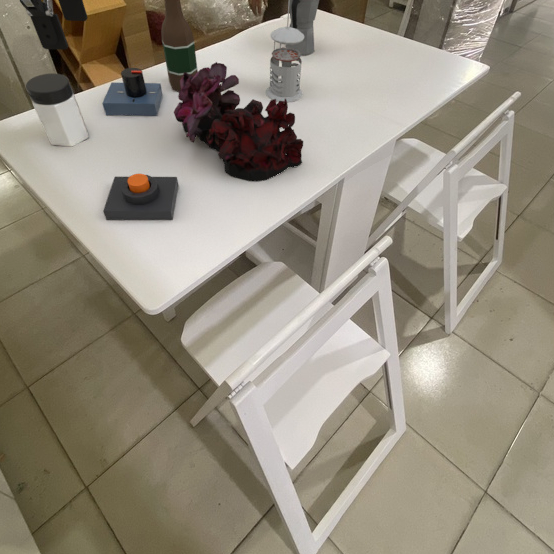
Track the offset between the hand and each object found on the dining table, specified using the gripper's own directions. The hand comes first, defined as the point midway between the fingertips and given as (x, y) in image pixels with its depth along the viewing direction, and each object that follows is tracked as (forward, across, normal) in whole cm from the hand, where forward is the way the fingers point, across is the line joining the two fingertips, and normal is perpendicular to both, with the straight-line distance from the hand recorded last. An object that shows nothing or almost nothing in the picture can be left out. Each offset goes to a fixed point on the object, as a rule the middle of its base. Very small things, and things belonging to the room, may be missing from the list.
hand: (67, 33), depth 56 cm
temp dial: (+25, -33, -2) cm, 42 cm away
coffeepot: (+29, -66, +39) cm, 82 cm away
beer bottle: (+28, -43, +7) cm, 52 cm away
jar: (+28, -19, -15) cm, 38 cm away
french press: (+29, -42, +33) cm, 60 cm away
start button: (+25, +3, +5) cm, 25 cm away
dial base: (+28, -33, -4) cm, 44 cm away
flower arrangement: (+29, -16, +21) cm, 39 cm away
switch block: (+28, +3, +5) cm, 29 cm away
